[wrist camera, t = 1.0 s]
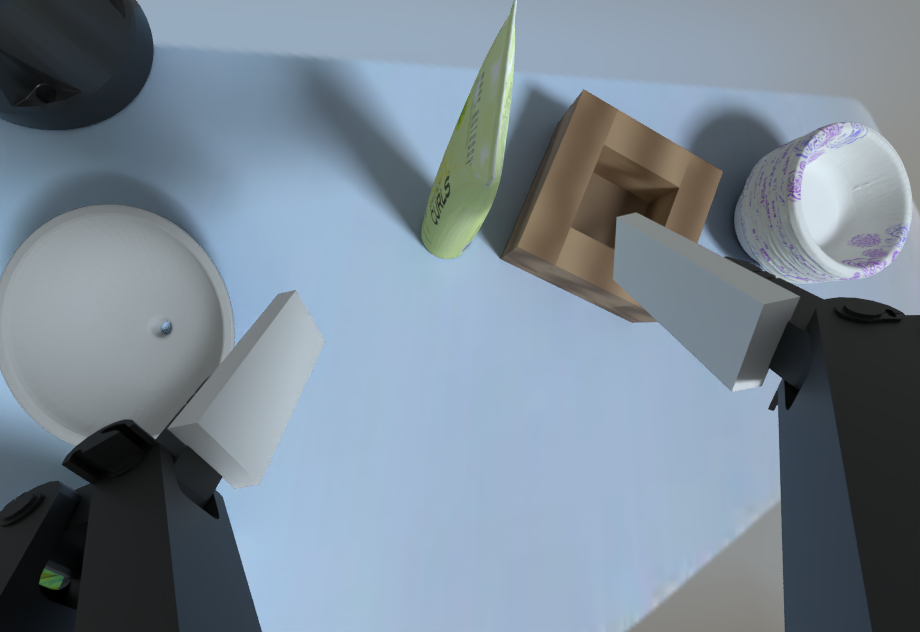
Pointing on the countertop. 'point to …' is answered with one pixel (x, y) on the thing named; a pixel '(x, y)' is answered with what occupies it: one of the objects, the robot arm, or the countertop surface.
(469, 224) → the tube
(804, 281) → the paper bowls
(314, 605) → the countertop surface
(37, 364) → the dish
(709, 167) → the socket block
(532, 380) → the countertop surface
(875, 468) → the robot arm
